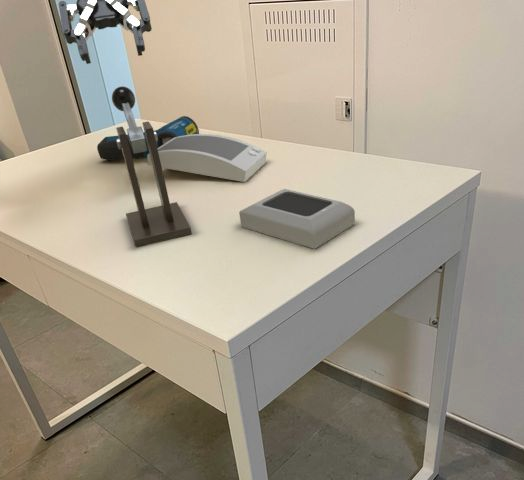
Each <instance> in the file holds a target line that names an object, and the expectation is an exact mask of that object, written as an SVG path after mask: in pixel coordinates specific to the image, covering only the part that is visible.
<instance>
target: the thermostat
mask: <svg viewBox="0 0 524 480" xmlns="http://www.w3.org/2000/svg"><path fill="white" fill-rule="evenodd" d="M158 153H159V157H160V162H161V166H162V169H167V170H174V171H178V172H185V173H190V174H196V175H201V176H207V177H208V176H209V177H212V178H213V177H214V178H220V179H225V180H230V181H235V182H236V181H237V182H241V183H242V182H243V183H246V182H247V181H248V180H249V179H250V178H251V177H253V175H254V174H255V173H256V172H257V171H259V170H260V169H261V168H262V167H263V166H264V165H265V164H266V163H267V151H266V150H264V149H261V148H260V147H259V146H256V145H254V144H251V143H248V142H246V141H243V140H241V139H237V138H234V137H230V136H226V135H219V134H211V133H199V134H192V135H184V136H179V137H175V138H173V139H171V140H170V141H168V142H167V143H165V144H163V145H162V146H160V147H159V148H158ZM147 157H148V158H147V166H149V167H150V166H151V167H153V166H152V162H151V158H150V153H149V154H148V155H147Z"/></svg>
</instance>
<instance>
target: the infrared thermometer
mask: <svg viewBox="0 0 524 480" xmlns="http://www.w3.org/2000/svg"><path fill="white" fill-rule="evenodd" d="M154 131H156V133H157V137H158V141H156V144H157V148H159V147H160V146H162V145H163V144H165V143H167V142H168V141H170V140H171V139H173V138H175V137H179V136H184V135H192V134H200V129H199V127H198V124H197V123H196V121H194V119H192V118H191V117H190V116H187V115H182V116H180V117H178V118H177V119H174V120H173V121H171V122H169V123H166V124H164V125H163V126H161V127H159V128H158V129H156V130H154ZM143 133H144V136H145V132H144V131H143ZM126 136H127V140H128V144H129V148H130V152H131V156H132V160H139V159H148V157H147V155H148V154H149V149H148V145H147V141H146V145H147V151H145V152H140V153H135V154H133V151H132V148H131V145H130V142H129V137H128V133H126ZM116 139H119V137H118V135H111V136H105V137H103V138H102V139H101V141H100V142H99V143H98V144H97V146H96V150H97V154H98V155H99V156H98V157H99V158H100V159H101V160H105V161H111V160H112V161H114V160H124V156H123V152H122V148H121V149H119V148H118V145H117V141H116ZM145 140H146V136H145Z"/></svg>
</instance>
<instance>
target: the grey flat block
mask: <svg viewBox="0 0 524 480" xmlns="http://www.w3.org/2000/svg"><path fill="white" fill-rule="evenodd" d="M238 213H239V220H240V226H241V228H244V229H247V230H250V231H254V232H257V233H260V234H264V235H267V236H271V237H274V238H276V239H280V240H283V241H286V242H287V241H288V242H290V243H293V244H297V245H300V246H304V247H307V248H309V249H313V250H316V249H317V248H319V247H321V246H322V245H324V244H325V243H328V241H330V240H332V239H333V238H335V237H337V236H338V235H340V234H342V233H343V232H344V231H346V230H348V229H349V228H351V227H353V226H354V225H356V211H355V209H354V208H353V207H352V206H351V205H349V204H347V203H345V202H343V201H339V200H336V199H331V198H327V197H322V196H319V195H314V194H310V193H304V192H301V191H295V190H291V189H286V188H283V189H280V190H279V191H277V192H273V194H270V195H269V196H267V197H265V198H262V199H260V200H259V201H257V202H254V203H253V204H251V205H249V206H247V207H245V208H242V209H241V210H240V211H239V212H238Z"/></svg>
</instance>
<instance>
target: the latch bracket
mask: <svg viewBox="0 0 524 480" xmlns="http://www.w3.org/2000/svg"><path fill="white" fill-rule="evenodd" d="M142 129H143V132H145V136H146V141H147V145H148V149H149V153H150V158H151V162H152V166H151V167H152V170H153V174H154V178H155V179H154V180H155V184H156V186H157V187H156V188H157V191H158V196H159V201H160V204H161V205H158V206H157V205H156V206H153V207H148V208H145V203H144V199H143V196H142V192H141V188H140V184H139V179H138V176H137V171H136V168H135V164H134V159H132V156H131V152H130V148H129V144H128V140H127V136H126V135H127V132H126V130H125V128H124V126H118V127H116V133H117V136H118V137H119V139H116V141H117V145H118V148H119V149H121V148H122V152H123V156H124V159H123V161H124V163H125V167H126V170H127V175H128V178H129V182H130V187H131V189H132V195H133V197H134V201H135V205H136V209H137V210H135V211H130V212H126V213H125V217H126V220H127V223H128V226H129V229H130V233H131V236H132V239H133V240H132V241H133V243H134V246H135V247H136V248H138V247H142V246H146V245H150V244H156V243H159V242H163V241H167V240H171V239H176V238H181V237H185V236H188V235H189V236H190V235H192V234H193V233H192V228H191V226H190V224H189V222H188V220H187V218H186V216H185V214H184V212H183V211H182V209H181V207H180V206H179V204H178V202H177V201H175V202H170V198H169V194H168V189H167V185H166V180H165V176H164V171H163V168H162V166H161V162H160V157H159V153H158V148H157V144H156V141H158V137H157V133H156V131H155V130H154V128H153V125H152V124H151V123H150V121H148V120H147V121H143V122H142Z"/></svg>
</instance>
